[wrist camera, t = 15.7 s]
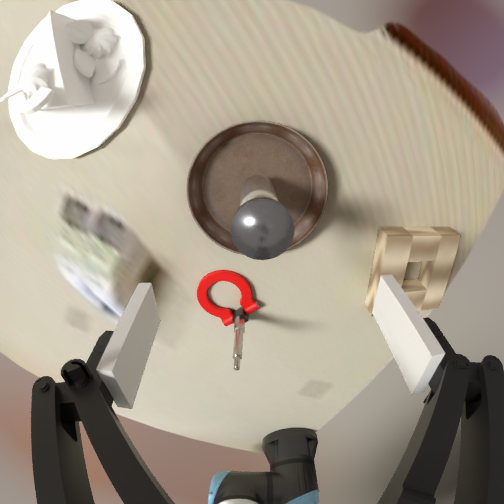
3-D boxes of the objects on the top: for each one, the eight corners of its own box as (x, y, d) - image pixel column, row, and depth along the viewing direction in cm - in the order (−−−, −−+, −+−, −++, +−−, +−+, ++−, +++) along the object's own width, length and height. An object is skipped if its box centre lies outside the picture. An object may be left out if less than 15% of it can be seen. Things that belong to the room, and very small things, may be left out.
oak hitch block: (430, 296, 47) (438, 307, 44) (364, 303, 47) (371, 316, 44) (449, 227, 41) (460, 235, 38) (378, 226, 41) (388, 236, 38)
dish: (140, 156, 36) (103, 176, 26) (12, 160, 35) (-34, 179, 25) (160, -11, 25) (132, -44, 15) (23, 22, 24) (-22, 15, 14)
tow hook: (187, 286, 46) (223, 324, 49) (167, 340, 34) (215, 382, 37) (229, 258, 44) (265, 301, 47) (221, 310, 32) (267, 359, 35)
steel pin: (278, 210, 37) (293, 258, 25) (236, 211, 37) (232, 260, 25) (278, 169, 35) (295, 200, 23) (235, 170, 35) (229, 201, 23)
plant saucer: (182, 128, 35) (177, 129, 32) (320, 117, 34) (326, 118, 32) (200, 251, 43) (197, 261, 40) (322, 241, 42) (327, 251, 40)
